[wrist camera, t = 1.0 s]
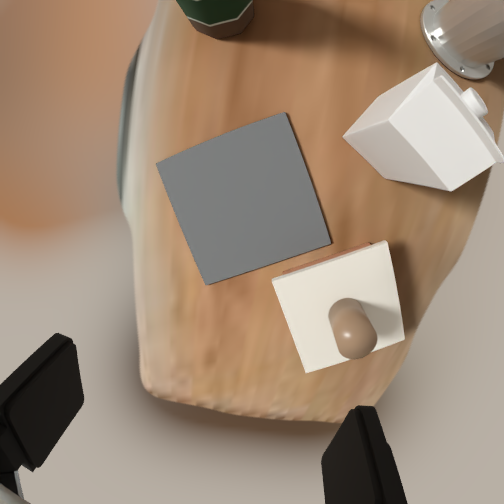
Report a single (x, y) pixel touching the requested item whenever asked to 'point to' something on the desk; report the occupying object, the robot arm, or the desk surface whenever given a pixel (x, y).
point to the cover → (342, 307)
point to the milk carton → (426, 132)
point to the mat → (244, 199)
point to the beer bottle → (218, 16)
